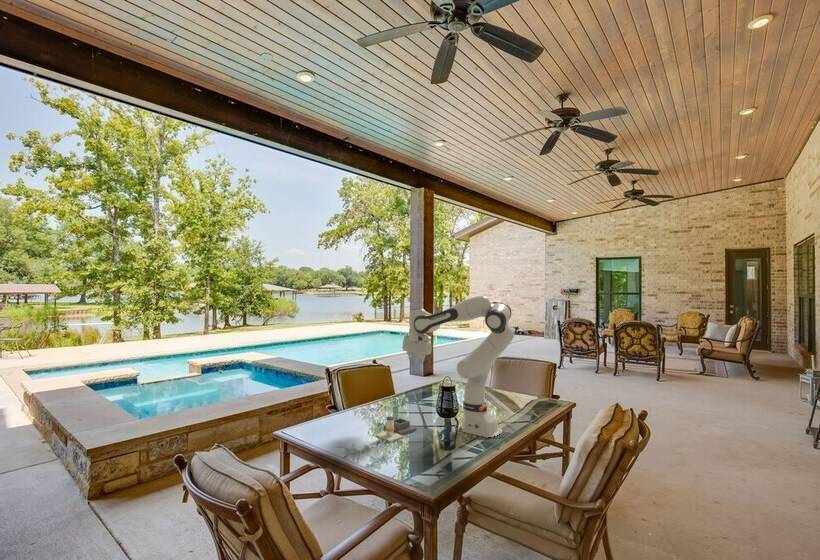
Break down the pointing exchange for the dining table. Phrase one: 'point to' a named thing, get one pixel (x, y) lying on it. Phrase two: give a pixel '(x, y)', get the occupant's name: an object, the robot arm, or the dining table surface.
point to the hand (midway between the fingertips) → (416, 360)
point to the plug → (389, 426)
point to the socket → (402, 426)
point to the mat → (389, 439)
